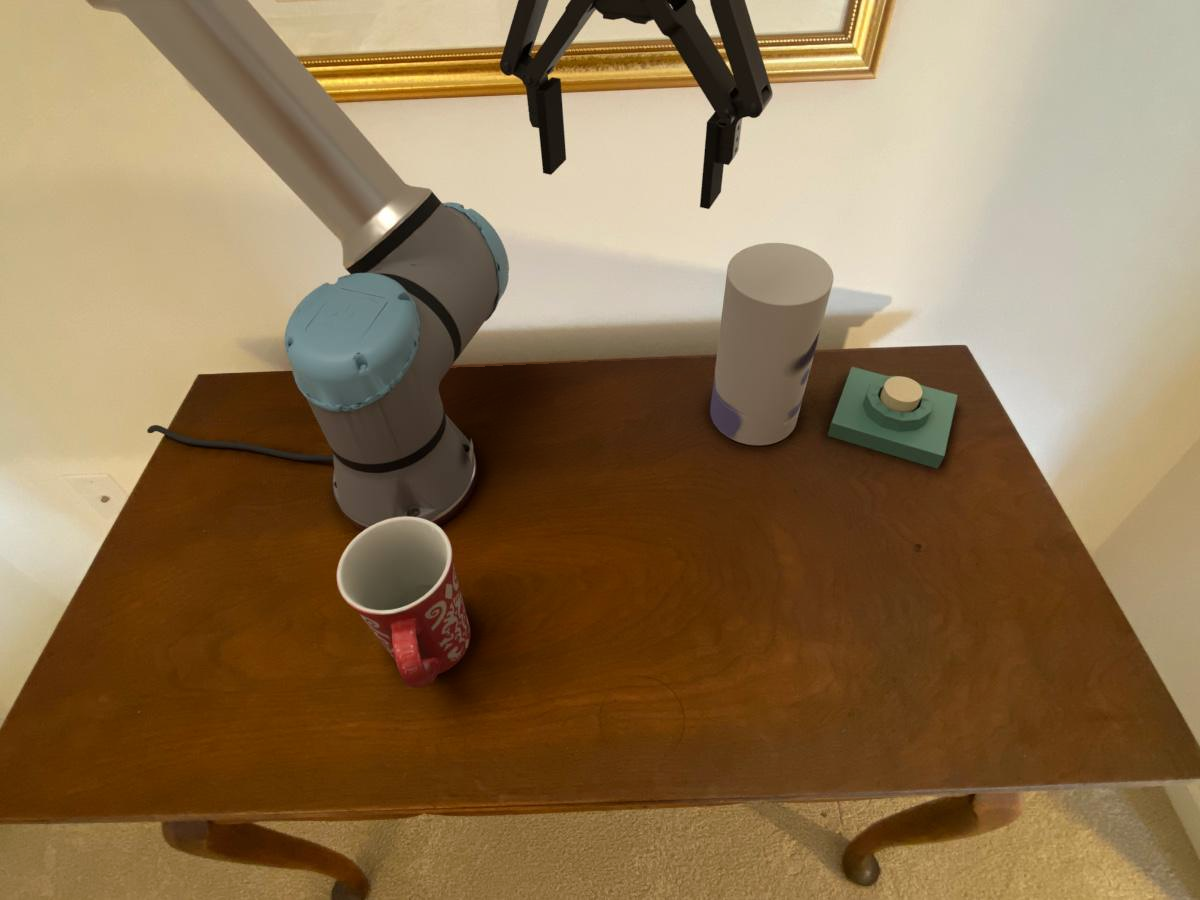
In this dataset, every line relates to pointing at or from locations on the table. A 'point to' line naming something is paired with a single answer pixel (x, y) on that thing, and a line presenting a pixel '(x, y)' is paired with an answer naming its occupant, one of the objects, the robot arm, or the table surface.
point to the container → (767, 340)
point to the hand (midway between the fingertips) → (629, 182)
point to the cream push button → (901, 394)
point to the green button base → (893, 420)
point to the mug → (407, 595)
